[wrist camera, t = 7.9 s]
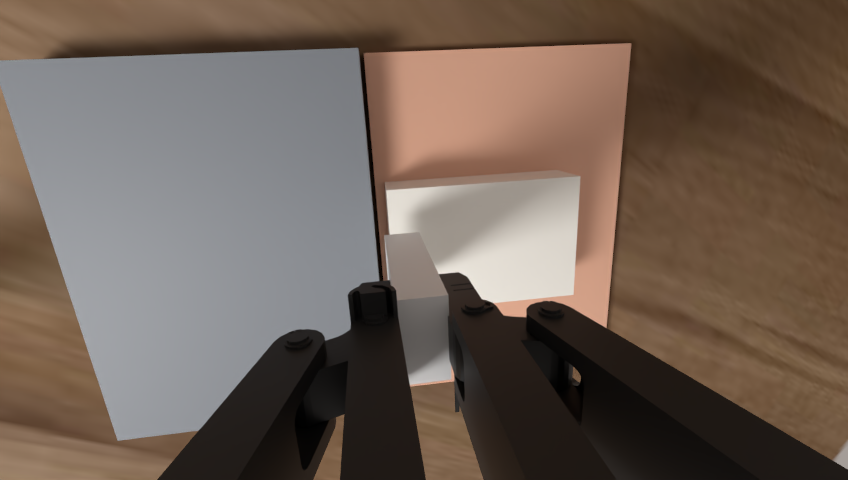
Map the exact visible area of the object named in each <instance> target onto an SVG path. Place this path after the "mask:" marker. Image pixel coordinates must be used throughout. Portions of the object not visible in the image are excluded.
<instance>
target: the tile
mask: <svg viewBox="0 0 848 480" xmlns="http://www.w3.org/2000/svg"><path fill="white" fill-rule="evenodd" d="M579 193H580V176H578V175H574V174H571V173H567V172H563V171H560V170H548V171H534V172H519V173H505V174H491V175H477V176H463V177H449V178H434V179H420V180H406V181H392V182H385V194H386V206H387V219H388V231H389V235H392V234H403V233H415V232H419V233H420V235H421V237H422V240H423V242H424V244H425V246H426V248H427V250H428V252H429V255H430V257H431V259H432V261H433V263H434V265H435V267H436V270H437V272H438V274H446V273H456V272H459V273H461V274H463V275H465V276H467V277H468V278H469V280H470V282H471V284H472V285H473V286H474V288H475V289H476V291H477V292H478V294H479V296H480V297H481V299H483V300H487V301H490V302H492V303H500V302H509V301H519V300H529V299H538V298H548V297H557V296H567V295H574V278H575V261H576V244H577V227H578V210H579Z"/></svg>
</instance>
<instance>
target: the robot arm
mask: <svg viewBox="0 0 848 480" xmlns="http://www.w3.org/2000/svg"><path fill="white" fill-rule="evenodd" d="M384 239H385V251H386V263H387V275H388V280H386V281H376V282H366V283H361V284H360V286H359V287H356V288H354V289H353V290H351V291H350V292H349V294H348V303H349V311H350V320H351V327H350V330H349V331H347V332H346V333H344V334H342V335H340V336H338V337H335V338H332V339H329V340H325V337H324V335H323V334H322V333H321V332H319V331H317V330H311V329H304V330H302V329H299V330H295V331H291V332H288V333H287V334H285V335H283V336H281V337H279V338H278V339H277V340H276V341H274V342H273V343H272V345H271V346H270V347H269V348H268V349H267V351H266V352H265V353H264V354H263V355H262V357H261V358H260V359H259V360H258V361H257V362H256V364H255V365H254V366H253V367H252V368H251V370H250V371H249V372H248V373H247V374H246V375H245V377H244V378H243V379H242V380H241V381H240V383H239V384H238V385H237V386H236V387H235V388H234V390H233V391H232V392H231V393H230V394H229V396H228V397H227V398H226V399H225V400H224V401H223V403H222V404H221V405H220V406H219V407H218V409H217V410H216V411H215V412H214V413H213V415H212V416H211V417H210V418H209V419H208V420H207V422H206V423H205V424H204V425H203V426H202V428H201V429H200V430H199V431H198V432H197V433H196V435H195V436H194V437H193V438H192V439H191V441H190V442H189V443H188V444H187V445H186V446H185V448H184V449H183V450H182V451H181V452H180V454H179V455H178V456H177V457H176V458H175V459H174V461H173V462H172V463H171V464H170V465H169V467H168V468H167V469H166V470H165V471H164V472H163V474H162V475H161V476H160V477H159V478H158V480H313V479H314V476H315V474H316V471H317V469H318V467H319V464H320V462H321V460H322V457H323V455H324V452H325V450H326V448H327V445H328V443H329V441H330V438H331V436H332V433H333V431H334V429H335V425H336V417H338V416H340V415H343V414H345V415H344V430H343V445H342V460H341V474H340V480H426V478H425V472H424V466H423V461H422V455H421V449H420V443H419V437H418V431H417V425H416V419H415V413H414V407H413V401H412V395H411V390H410V385H412V384H420V383H428V382H435V381H443V380H451V366H452V369H453V372H454V385H455V412H459V406H460V408H461V411H462V414H463V417H464V420H465V423H466V426H467V429H468V432H469V436H470V439H471V442H472V445H473V448H474V451H475V454H476V457H477V460H478V463H479V467H480V470H481V473H482V476H483V479H484V480H848V469H845V468H844V467H842V466H841V465H839V464H837V463H836V462H834V461H832V460H830V459H829V458H827V457H825V456H824V455H822V454H820V453H819V452H817V451H815V450H813V449H812V448H810V447H808V446H807V445H805V444H803V443H801V442H800V441H798V440H796V439H795V438H793V437H791V436H790V435H788V434H786V433H784V432H783V431H781V430H779V429H778V428H776V427H774V426H772V425H771V424H769V423H767V422H766V421H764V420H762V419H761V418H759V417H757V416H755V415H754V414H752V413H750V412H749V411H747V410H745V409H743V408H742V407H740V406H738V405H737V404H735V403H733V402H732V401H730V400H728V399H726V398H725V397H723V396H721V395H720V394H718V393H716V392H714V391H713V390H711V389H709V388H708V387H706V386H704V385H703V384H701V383H699V382H697V381H696V380H694V379H692V378H691V377H689V376H687V375H685V374H684V373H682V372H680V371H679V370H677V369H675V368H674V367H672V366H670V365H668V364H667V363H665V362H663V361H662V360H660V359H658V358H656V357H655V356H653V355H651V354H650V353H648V352H646V351H645V350H643V349H641V348H639V347H638V346H636V345H634V344H633V343H631V342H629V341H628V340H626V339H624V338H622V337H621V336H619V335H617V334H616V333H614V332H612V331H610V330H609V329H607V328H605V327H604V326H602V325H600V324H599V323H597V322H595V321H593V320H592V319H590V318H588V317H587V316H585V315H583V314H581V313H580V312H578V311H576V310H575V309H573V308H571V307H569V306H567V305H565V304H562V303H557V302H555V301H542V302H536V303H534V304H531V305H529V306H528V308H527V310H526V317H512V316H505V315H503V314H502V313H501V311H500V310H499V308H498V307H497V306H496V305H495V304H494V303H492V302H490V301H487V300H483V299H481V297H480V296H479V294H478V292H477V291H476V289H475V288H474V286H473V285H472V284H471V282H470V280H469V278H468V277H467V276H465V275H463V274H461V273H459V272H456V273H446V274H438V272H437V270H436V267H435V265H434V263H433V261H432V259H431V257H430V255H429V252H428V250H427V248H426V246H425V244H424V242H423V240H422V237H421V235H420V233H419V232H415V233H403V234H392V235H384ZM573 367H575V369H576V370H577V371H578V372H579V373H580V375H581V381H580V383H579V382H577V381H576V380H575V379H574V378H572V375H573Z"/></svg>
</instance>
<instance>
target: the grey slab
mask: <svg viewBox="0 0 848 480" xmlns="http://www.w3.org/2000/svg"><path fill="white" fill-rule="evenodd" d="M0 86H1V89H2V92H3V95H4V98H5V101H6V104H7V107H8V110H9V113H10V116H11V119H12V122H13V125H14V128H15V131H16V134H17V137H18V140H19V143H20V146H21V149H22V152H23V155H24V158H25V161H26V164H27V167H28V170H29V173H30V176H31V179H32V183H33V186H34V189H35V192H36V195H37V198H38V201H39V204H40V207H41V210H42V213H43V216H44V219H45V222H46V225H47V228H48V231H49V234H50V237H51V240H52V243H53V246H54V249H55V252H56V255H57V258H58V261H59V264H60V267H61V270H62V273H63V276H64V279H65V282H66V285H67V288H68V291H69V294H70V297H71V300H72V304H73V307H74V310H75V313H76V316H77V319H78V322H79V325H80V328H81V331H82V334H83V337H84V340H85V343H86V346H87V349H88V352H89V355H90V358H91V361H92V364H93V367H94V370H95V373H96V376H97V379H98V382H99V385H100V388H101V391H102V394H103V397H104V400H105V403H106V406H107V409H108V412H109V415H110V418H111V422H112V425H113V428H114V431H115V434H116V437H117V440H118V441H119V440H127V439H135V438H143V437H151V436H158V435H166V434H174V433H182V432H190V431H198V430H200V429H201V428H202V426H203V425H204V424H205V423H206V422H207V420H208V419H209V418H210V417H211V416H212V415H213V413H214V412H215V411H216V410H217V409H218V407H219V406H220V405H221V404H222V403H223V401H224V400H225V399H226V398H227V397H228V396H229V394H230V393H231V392H232V391H233V390H234V388H235V387H236V386H237V385H238V384H239V383H240V381H241V380H242V379H243V378H244V377H245V375H246V374H247V373H248V372H249V371H250V370H251V368H252V367H253V366H254V365H255V364H256V362H257V361H258V360H259V359H260V358H261V357H262V355H263V354H264V353H265V352H266V351H267V349H268V348H269V347H270V346H271V345H272V343H273V342H274V341H276V340H277V339H278V338H279V337H281V336H283V335H285V334H287V333H288V332H291V331H295V330H299V329H302V330H304V329H311V330H317V331H319V332H321V333H322V334H323V335H324V337H325V340H329V339H332V338H335V337H338V336H340V335H342V334H344V333H346V332H347V331H349V330H350V327H351V320H350V311H349V303H348V294H349V292H350V291H351V290H353V289H354V288H356V287H359V286H360V284H361V283H366V282H376V281H380V278H379V267H378V256H377V245H376V233H375V222H374V211H373V200H372V189H371V177H370V166H369V155H368V144H367V133H366V121H365V110H364V99H363V88H362V77H361V66H360V55H359V49H358V48H339V49H311V50H283V51H255V52H227V53H200V54H172V55H144V56H116V57H88V58H60V59H33V60H5V61H0Z"/></svg>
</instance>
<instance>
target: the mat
mask: <svg viewBox="0 0 848 480" xmlns="http://www.w3.org/2000/svg"><path fill="white" fill-rule="evenodd" d="M630 53H631V43H621V44H594V45H567V46H541V47H514V48H487V49H460V50H433V51H406V52H380V53H364V63H365V74H366V86H367V97H368V109H369V121H370V132H371V144H372V155H373V167H374V178H375V190H376V201H377V213H378V224H379V236H380V248H381V259H382V271H383V281H386V280H388V275H387V263H386V251H385V239H384V235H389V231H388V219H387V206H386V194H385V182H392V181H406V180H420V179H434V178H449V177H463V176H477V175H491V174H505V173H519V172H534V171H548V170H560V171H563V172H567V173H571V174H574V175H578V176H580V193H579V210H578V227H577V244H576V261H575V278H574V295H567V296H557V297H548V298H538V299H529V300H519V301H509V302H500V303H494V304H495V305H496V306H497V307H498V308H499V310H500V311H501V313H502V314H503V315H505V316H512V317H526V310H527V308H528V306H529V305H531V304H534V303H536V302H542V301H555V302H557V303H562V304H565V305H567V306H569V307H571V308H573V309H575V310H576V311H578V312H580V313H581V314H583V315H585V316H587V317H588V318H590V319H592V320H593V321H595V322H597V323H599V324H600V325H602V326H604V327H605V328H606V327H607V316H608V304H609V293H610V281H611V270H612V259H613V247H614V236H615V224H616V213H617V201H618V190H619V179H620V167H621V156H622V144H623V133H624V121H625V110H626V98H627V87H628V76H629V64H630ZM451 381H454V372H453V369H452V366H451V380H443V381H435V382H428V383H420V384H412V385H410V386H418V385H426V384H435V383H443V382H451Z"/></svg>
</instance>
